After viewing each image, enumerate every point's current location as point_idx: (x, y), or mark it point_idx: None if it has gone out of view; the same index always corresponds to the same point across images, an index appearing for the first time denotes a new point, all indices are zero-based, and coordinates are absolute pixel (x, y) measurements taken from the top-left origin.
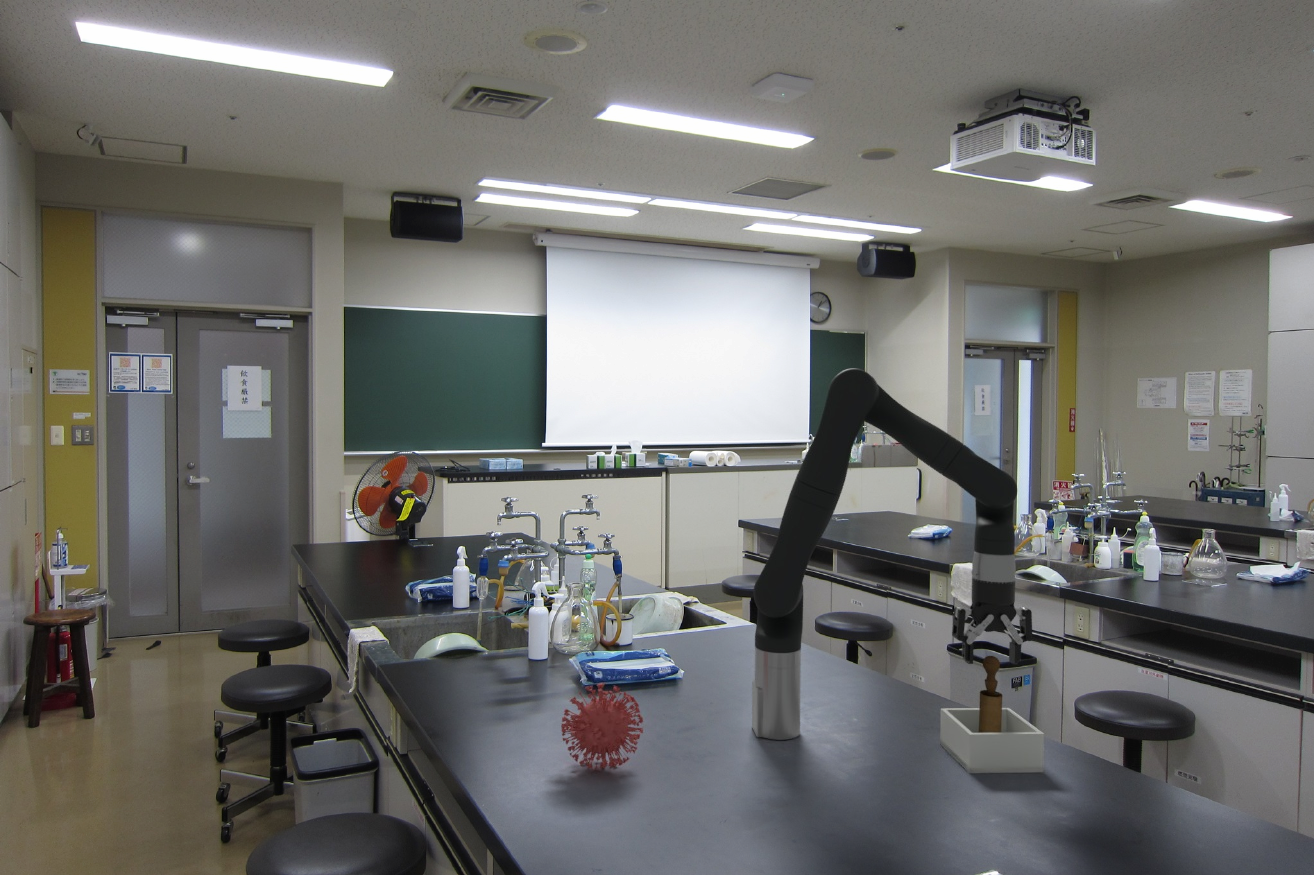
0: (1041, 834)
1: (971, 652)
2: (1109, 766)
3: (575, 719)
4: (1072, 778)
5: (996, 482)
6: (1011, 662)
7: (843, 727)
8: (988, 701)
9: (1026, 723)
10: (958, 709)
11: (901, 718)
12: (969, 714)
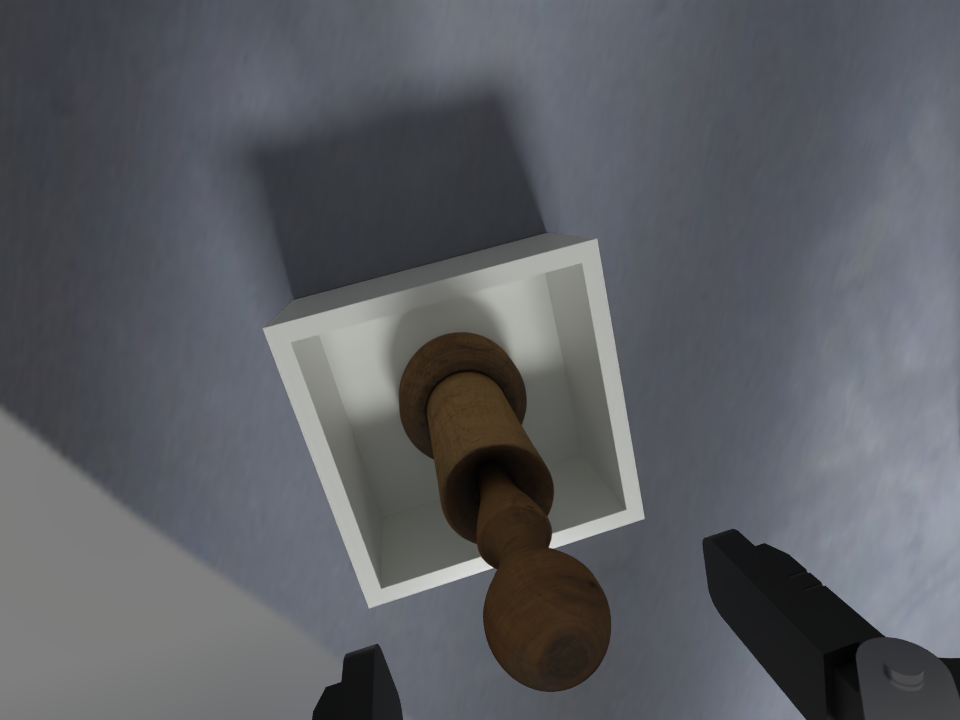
0: None
1: (784, 588)
2: (38, 416)
3: None
4: (195, 270)
5: None
6: (390, 677)
7: (836, 506)
8: (514, 436)
9: (324, 441)
10: (579, 527)
11: (662, 624)
12: None
